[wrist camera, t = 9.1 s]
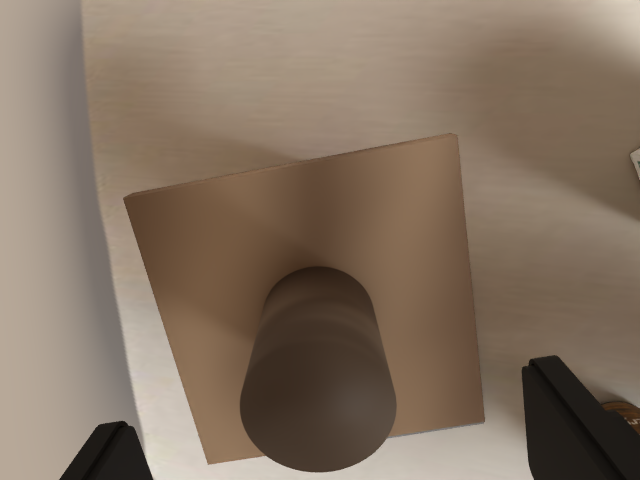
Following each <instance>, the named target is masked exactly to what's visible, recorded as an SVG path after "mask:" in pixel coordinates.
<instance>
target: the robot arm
mask: <svg viewBox="0 0 640 480" xmlns="http://www.w3.org/2000/svg"><path fill="white" fill-rule="evenodd" d="M522 382H523V396H524V409H525V423H526V436H527V450H528V462H529V467H530V470H531V473H532V476H533V478H534V480H640V435H639V434H638V432H637V431H636V430H635V429H634V428H633V427H632V426H631V425H630V424H629V423H628V422H627V420H626V419H625V418H624V417H623V416H622V415H621V414H619V413H618V412H617V411H615V410H612V409H611V410H605V409H604V408H603V407H602V406H601V405H600V403H599V402H598V401H597V400H596V399H595V398H594V397H593V395H592V394H591V393H590V392H589V391H588V390H587V389H586V388H585V386H584V385H583V384H582V383H581V382H580V381H579V380H578V378H577V377H576V376H575V375H574V374H573V373H572V372H571V371H570V369H569V368H568V367H567V366H566V365H565V364H564V363H563V362H562V360H561V359H560V358H559V357H558V356H555V355H553V356H547V357H540V358H534V359H530V360H529V366H525V367H523V368H522ZM59 480H153V478H152V475H151V472H150V469H149V467H148V464H147V461H146V458H145V455H144V453H143V450H142V447H141V444H140V442H139V439H138V436H137V434H136V431H135V429H134V427H132V426H128V424H127V423H126V422H125V421H119V422H112V423H105V424H100V425H98V427H96V428H95V430H94V431H93V433H92V434H91V435H90V437H89V439H88V440H87V441H86V443H85V444H84V445H83V447H82V448H81V450H80V451H79V452H78V454H77V455H76V457H75V458H74V460H73V461H72V462H71V464H70V465H69V467H68V468H67V469H66V471H65V472H64V474H63V475H62V476H61V478H60V479H59Z"/></svg>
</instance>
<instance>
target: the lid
mask: <svg viewBox="0 0 640 480" xmlns="http://www.w3.org/2000/svg"><path fill="white" fill-rule="evenodd" d="M123 200H124V203H125V206H126V209H127V212H128V215H129V218H130V221H131V225H132V228H133V231H134V234H135V237H136V240H137V243H138V247H139V250H140V253H141V256H142V259H143V262H144V265H145V268H146V272H147V275H148V278H149V281H150V284H151V287H152V290H153V294H154V297H155V300H156V303H157V306H158V309H159V312H160V315H161V319H162V322H163V325H164V328H165V331H166V334H167V337H168V341H169V344H170V347H171V350H172V353H173V356H174V359H175V362H176V366H177V369H178V372H179V375H180V378H181V381H182V384H183V388H184V391H185V394H186V397H187V400H188V403H189V406H190V409H191V413H192V416H193V419H194V422H195V425H196V428H197V431H198V435H199V438H200V441H201V444H202V447H203V450H204V453H205V456H206V460H207V463H208V465H209V464H215V463H222V462H228V461H235V460H241V459H248V458H254V457H261V456H267V457H269V458H270V459H272V460H273V461H275V462H277V463H279V464H281V465H283V466H286V467H289V468H292V469H295V470H300V471H306V472H331V471H336V470H341V469H344V468H347V467H350V466H353V465H355V464H357V463H359V462H361V461H363V460H364V459H366V458H368V457H369V456H370V455H372V454H373V453H374V452H375V451H376V450H377V449H378V448H379V447H380V446H381V445H382V444H383V443H384V441H385V440H386V439H387V437H390V436H396V435H403V434H409V433H416V432H422V431H428V430H435V429H441V428H448V427H454V426H461V425H467V424H474V423H480V422H485V417H484V407H483V396H482V386H481V376H480V365H479V355H478V345H477V334H476V324H475V313H474V303H473V293H472V282H471V272H470V262H469V251H468V241H467V231H466V220H465V210H464V200H463V189H462V179H461V168H460V158H459V148H458V137H457V135H455V134H451V133H449V134H444V135H439V136H433V137H428V138H423V139H417V140H412V141H407V142H401V143H396V144H391V145H385V146H380V147H375V148H369V149H364V150H359V151H354V152H348V153H343V154H338V155H332V156H327V157H322V158H316V159H311V160H306V161H300V162H295V163H290V164H285V165H279V166H274V167H269V168H263V169H258V170H253V171H247V172H242V173H237V174H231V175H226V176H221V177H215V178H210V179H205V180H200V181H194V182H189V183H184V184H178V185H173V186H168V187H162V188H157V189H152V190H146V191H141V192H136V193H132V194H130V195H128V196H126V197H124V198H123Z"/></svg>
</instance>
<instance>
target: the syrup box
mask: <svg viewBox="0 0 640 480" xmlns="http://www.w3.org/2000/svg"><path fill="white" fill-rule="evenodd" d="M630 157H631V159H632V162H633V163H634V165H635V168H636V171H637V173H638V176H639V180H640V149H638V150H636V151H634V152H632V153H631V154H630Z"/></svg>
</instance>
